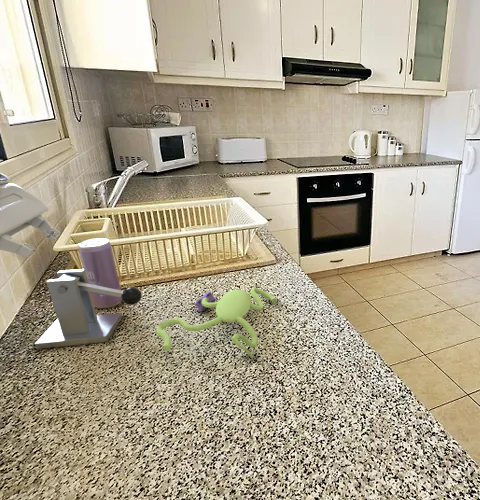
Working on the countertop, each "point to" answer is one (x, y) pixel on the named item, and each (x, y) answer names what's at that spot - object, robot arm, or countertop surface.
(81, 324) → the bracket
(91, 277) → the beverage can
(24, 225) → the robot arm
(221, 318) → the figurine
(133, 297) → the faucet lever
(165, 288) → the countertop surface
